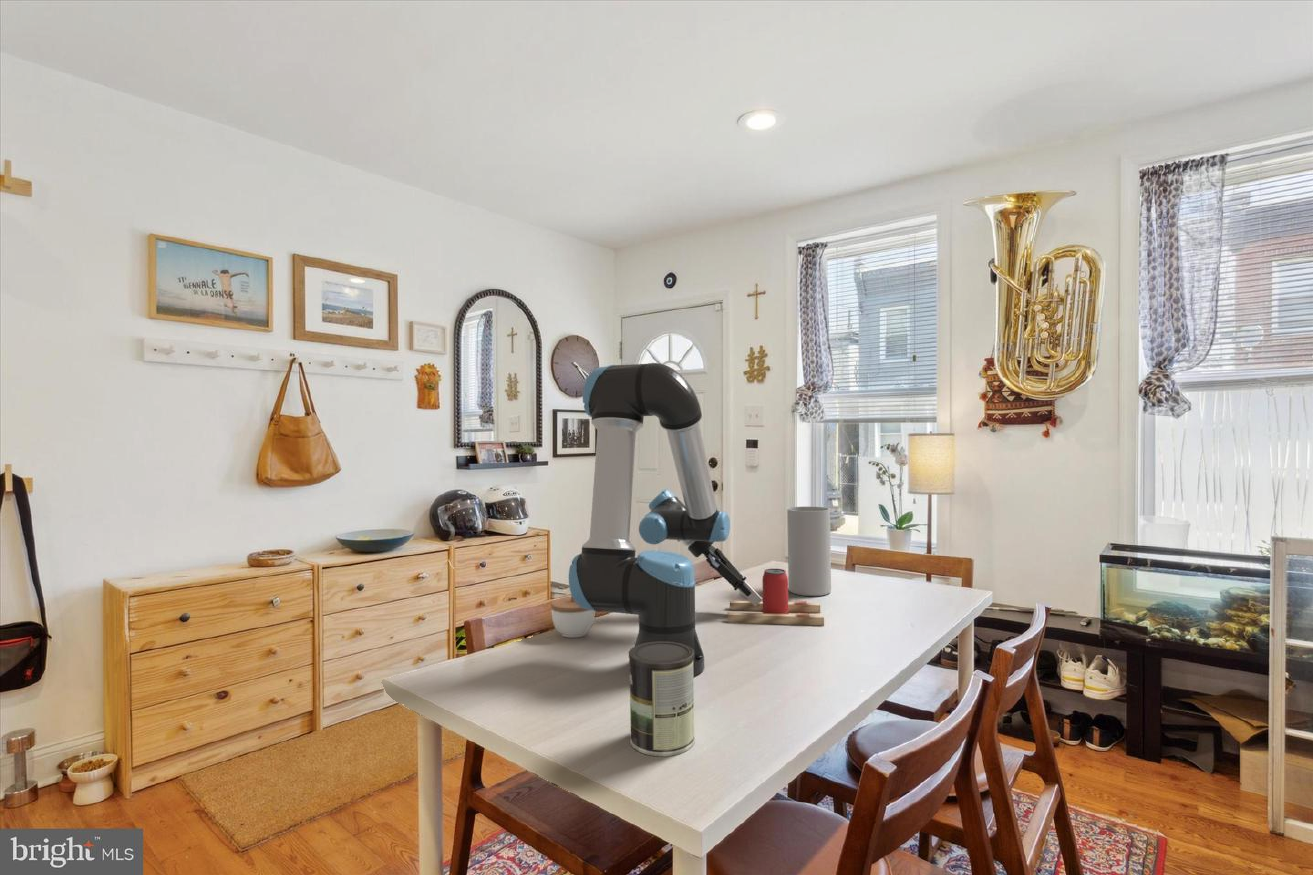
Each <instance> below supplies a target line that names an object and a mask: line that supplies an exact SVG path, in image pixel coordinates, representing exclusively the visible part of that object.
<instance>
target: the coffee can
mask: <svg viewBox="0 0 1313 875" xmlns="http://www.w3.org/2000/svg"><path fill="white" fill-rule="evenodd" d="M634 646H635V645H634ZM634 646H633V647H631V648H630V649H629V651H628V659H629V660H628V661H629V663H628V664H629V707H630V710H629V711H630V713H629V715H630V719H629V720H630V724H629V725H630V738H629V739H630V740H629V741H630V745H631V747H632V748H633V749H634V750H636V751H637V752H639V753H640V754H644V755H646V756H652V757H672V756H677V755H681V754H683V753H685V752H687V751H689V750H690V749H692V747H693V746H694V744H695V743H696V742H695V741H696V738H695V705H694V704H695V698H694V697H695V694H694V693H695V692H694V691H695V690H694V689H695V688H694V686H695V685H694V684H695V683H694V680H695V678H694V677H693V658H694V650H693V649H692V648H691V647H689V646H687V645H685V644H682V643H677V642H670V641H655V642H647V643H643V644H640V645H637V646H635V647H634Z"/></svg>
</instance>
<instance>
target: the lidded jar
mask: <svg viewBox="0 0 1313 875" xmlns="http://www.w3.org/2000/svg"><path fill="white" fill-rule="evenodd" d="M570 597H571V598H570ZM550 608H551V619H552V624H553V626H554V628H555V629H556V631H557V632H559V633H560V635H561V636H562V637H564V638H580V637H583V636H585V635H587V632H588V631H589V630H590V629H591V628H592V626H593V624H594V621H595V614H596V611H594V610H588V609H583V608H581V607H580V606H578V605H577V604H576V602H575V601H574V599H573V597H572V595H571V594H570V596H566V597H560V598H557V599H555V600H553V601H551V603H550Z"/></svg>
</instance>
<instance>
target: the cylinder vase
mask: <svg viewBox="0 0 1313 875" xmlns="http://www.w3.org/2000/svg"><path fill="white" fill-rule="evenodd" d="M786 511H787V512H786V514H787V516H786V517H787V518H786V519H787V573H788V574H787V578H788V592H791V593H792V594H794V595H796V596H797V595H798V596H803V597H822V596H823V597H824V596H826V595H829V594H830V593H831V591H832V565H831V564H832V562H831V557H832V555H831V554H832V553H831V508H828V507H824V506H792V507H787V509H786Z"/></svg>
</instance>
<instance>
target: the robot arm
mask: <svg viewBox="0 0 1313 875" xmlns="http://www.w3.org/2000/svg"><path fill="white" fill-rule="evenodd" d="M698 399H699V398H698V397H697V395H696V393H695V391H694V388H692V386H691V385H690V384H689V382H688V381H687V380H686V378H684V377H683V375H682V374H680V373H679V372H678V371H676V370H675V369H674V368H672V367H671V366H669V365H666V364H662V363H659V362H649V363H638V364H637V363H636V364H610V365H607V366H599V367H597V368H594V369H593V370H592V371H591V372H589V374H588V376H587V378H586V379H585V381H584V385H583V389H582V403H583V409H584V412H585V413H586V415H588V416H589V417H590V418H591V424H592V426H593V427H594V428H595V429H596V430H597V431H596V433H597V434H596V448H595V458H594V460H595V461H594V472H593V473H594V474H593V486H592V487H593V488H592V502H591V517H590V528H589V529H590V530H589V531H590V532H589V537H588V540H587V541H585V543H583V544H582V545H581V552H580V553H579V554H577V555H575V556H574V558H572V560H571V564H570V566H569V570H568V586H569V587H568V588H569V592H570V596H571V595H572V597H573V599H574V601H575V602H576V604H577V605H578V606H580V607H581V608H583V609H588V610H594V611H595V613H601V612H606V613H617V614H618V613H619V614H625V615H626V614H627V615H635V616H636V615H637V616H638V632H637V636H636V640H635V643H634V646H633V647H635V646H637V645H640V644H643V643H647V642H655V641H670V642H677V643H682V644H685V645H687V646H689V647H691V648H692V649H693V650H694V658H693V678H694V677H696V676H699V675H700V674H701V673H702V672H703V671H704V670H705V656H704V652H703V649H702V645H701V643H700V640H699V639H700V638H699V637H698V633H697V631H696V586H695V585H696V579H695V572H694V571H695V570H694V569H695V568H694V564H693V561H692V560H691V559H690V558H688V557H686V556H685V555H682V554H680V553H676V552H672V551H665V550H644V551H641V552H640V553H638V555H637V557H636V548H635V546H634V545H633V544H632V543H631V541H630V532H631V531H630V530H631V529H630V528H631V514H632V503H633V502H632V500H633V498H632V497H633V483H634V470H635V455H636V454H635V451H636V436H637V435H636V434H637V433H638V431H640V429H642V428H643V427H644V417H653V416H655V417H657V418H658V421H659V424H660V427H661V428H663V429H664V430H665V431H666V434H667V438H668V443H669V445H670V450H671V453H672V457H673V458H672V459H673V461H674V465H675V471H676V473H677V478H678V482H679V486H680V490H681V494H682V497H683V502H684V503H683V502H682V501H681V500H680V499H679V498H678V496H677V495H675V494H674V493H673V492H672V491H671V490H669V489H668V488H667V489H664V490H662V491H661V492H660V493H658V495H657V496H656V497H655V498H654V499H652V500H651V501H650V502H649V504H648V509H649V510H650V511H649V512H648V513H646V514H645V515H644V516H643V518H642V520H641V521H640V523H639V524H638V533H639V535H640V537H641V539H642V540H643V541H644V542H645V543H647V544H649V545H658V544H660V543H663V542H664V541H665V540H669V541H670V540H672V541H677V542H678V543H679V542H681V544H683V546H685V547H687V546H688V547H687V550H688V551H689V552H690V553H691V554H692V555H693V556H694V557H695V558H700V556H702V555H704V558H706V559H705V560H706V562H707V563H708V564H709V566H710V568H712V569H713V570H715V571H716V572H717V573H718V574H719V575H720V576H721V577H723V579H724V580H726V582H728V584H729V585H731V586H732V588H734V589H733V590H734V591H737V590H738V591H739V592H740V593H741V594H742V595H743V596H744V598H746V600H748V601H750V602H751V603H752V604H753V605H754V606H757V605H758V604H759V603H760V602H763V597H762V596H760V594H758V592H757V591H755V590H754V588H753V587H752V586H751V585H750V584H749V583H748V582H747V581H746V580H747V577H746V576H743V574H741V573H740V571H739V570H738V569H737V568H736V567H735V566H734V565H733V563H731V561H730V560H729V559H728V558H727V557H726V556H725V555H724V553H723V552H722V550H720V548H718V547H717V548H716V547H715V546H713V544H714V543H716V542H717V543H719V542H721V543H722V542H725V541H726V540H727V539H728V538H729V535H730V530H731V520H730V516H729V514H728V512H726V511H722V510H718V507H717V502H716V498H715V492H714V487H713V483H712V477H711V473H710V469H709V464H708V459H707V455H706V451H705V450H706V449H705V446H704V445H705V444H704V441H703V434H702V430H701V427H700V426H701V425H700V422H701V420H702V418H703V414H702V409H701V404H700V401H699V400H698Z"/></svg>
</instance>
